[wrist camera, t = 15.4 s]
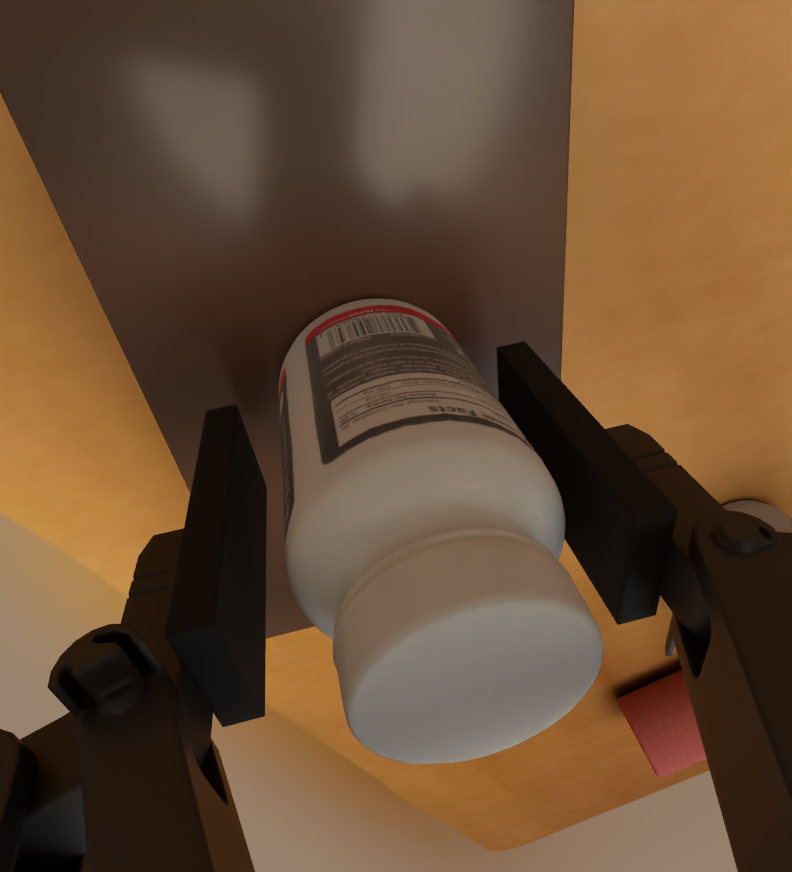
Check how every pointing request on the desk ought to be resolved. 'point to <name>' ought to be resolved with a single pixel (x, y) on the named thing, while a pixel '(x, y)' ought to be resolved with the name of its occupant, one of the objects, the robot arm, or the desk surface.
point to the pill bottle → (426, 541)
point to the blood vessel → (664, 724)
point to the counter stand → (297, 185)
